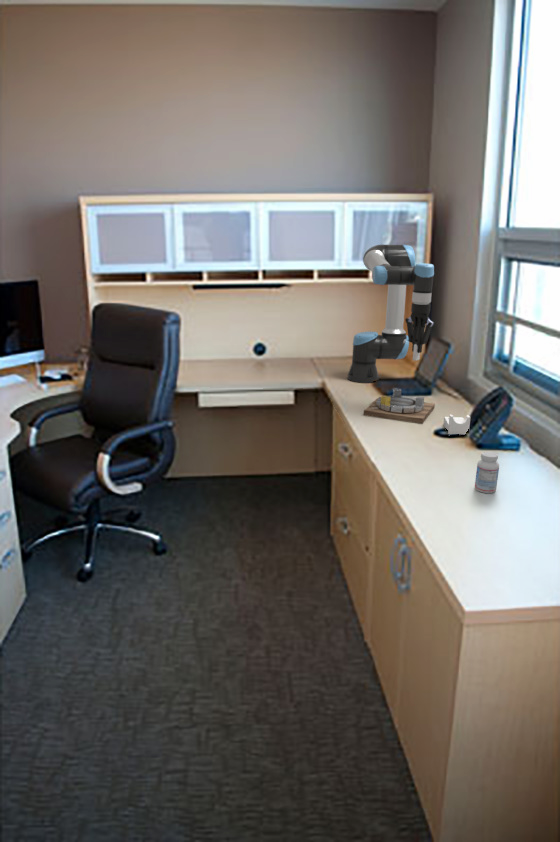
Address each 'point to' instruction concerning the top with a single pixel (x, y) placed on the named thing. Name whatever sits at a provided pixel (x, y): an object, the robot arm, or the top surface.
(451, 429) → the bracket
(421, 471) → the top surface
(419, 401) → the grey block ring
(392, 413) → the walnut base
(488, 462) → the pill bottle
